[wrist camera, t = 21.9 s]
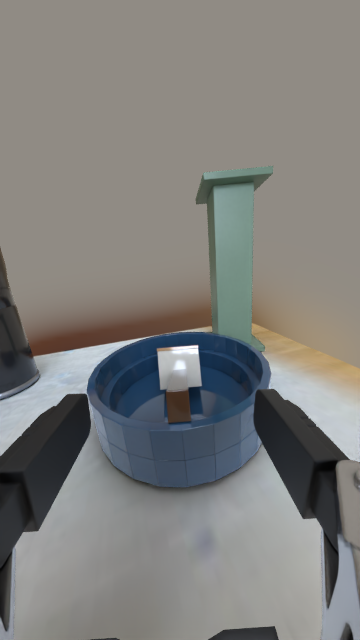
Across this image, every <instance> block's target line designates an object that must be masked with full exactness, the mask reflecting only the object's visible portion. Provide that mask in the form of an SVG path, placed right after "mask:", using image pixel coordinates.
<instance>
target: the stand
mask: <svg viewBox="0 0 360 640" xmlns="http://www.w3.org/2000/svg"><path fill="white" fill-rule="evenodd" d="M272 174H273V166H268V167H258V168H247V169H237V170H227V171H216V172H206V173H203V176H202V179H201V183H200V187H199V190H198V193H197V197H196V204H205V203H207V213H208V236H209V258H210V281H211V304H212V305H211V306H212V329H213V332H206V333H215V334H220V335H225V336H230V337H233V338H236V339H239V340H242V341H244V342H246V343H248V344H250V345H252V346H253V347H254V348H256V349H257V350H258V351H259V352H261V351H265V346H264V345H263V344H262V343H261V342H260V341H259V340H257V339H256V338H255V337H254V336H253V335H252V334H251V326H252V265H253V260H252V259H253V206H254V202H253V201H254V191H255V190H256V189H257V188H258V187H259V186H260V185H261V184H262V183H263V182H264V181H265V180H266V179H268V177H269V176H271V175H272Z"/></svg>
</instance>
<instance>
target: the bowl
mask: <svg viewBox="0 0 360 640" xmlns="http://www.w3.org/2000/svg"><path fill="white" fill-rule="evenodd" d="M189 344H197V345H198V352H199V362H200V372H201V383H202V386H198V387H188V390H189V401H190V412H191V421H188V422H176V423H168V415H167V402H166V390H167V389H163V390H160V378H159V365H158V352H157V349H158V348H160V347H166V346H177V345H189ZM270 388H271V371H270V367H269V363H268V361H267V360H266V359H265V357H264V356H263V355H262V353H261V352H259V351H258V350H257V349H256V348H254V347H253V346H252V345H250V344H248V343H246V342H244V341H242V340H239V339H236V338H233V337H230V336H225V335H220V334H215V333H205V332H179V333H171V334H163V335H159V336H154V337H150V338H146V339H143V340H139V341H137V342H134V343H132V344H129V345H127V346H125V347H123V348H121V349H119V350H117V351H115V352H114V353H112V354H111V355H109V356H108V357H107V358H105V359H104V360H103V361H102V362H101V363H100V364H99V365H98V366H97V367H96V368H95V369H94V371H93V373H92V374H91V376H90V378H89V380H88V386H87V394H88V398H89V402H90V406H91V410H92V414H93V417H94V421H95V425H96V429H97V433H98V436H99V440H100V443H101V447H102V450H103V452H104V453H105V454H106V456H107V457H108V458H109V460H110V461H111V462H112V463H113V465H114V466H115V467H116V468H118V469H119V470H121V471H122V472H124V473H125V474H127V475H128V476H130V477H131V478H133V479H136V480H139V481H143V482H146V483H149V484H152V485H156V486H159V487H191V486H195V485H199V484H204V483H208V482H212V481H216V480H218V479H220V478H222V477H224V476H226V475H228V474H230V473H232V472H233V471H235V470H237V469H239V468H241V467H242V466H243V465H244V464H245V463H246V462H247V461H248V460H249V459H250V458H251V457H252V456H253V455H254V454H255V453H256V452H257V451H258V449H259V447H260V445H261V443H262V442H261V440H260V438H259V436H258V434H257V432H256V430H255V427H254V422H253V414H254V403H255V394H256V391H257V390H258V389H270Z"/></svg>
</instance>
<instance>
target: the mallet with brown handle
mask: <svg viewBox="0 0 360 640" xmlns="http://www.w3.org/2000/svg"><path fill="white" fill-rule="evenodd" d="M157 352H158V365H159V378H160V390H163V389H167V390H166V402H167V415H168V423H176V422H188V421H191V412H190V401H189V390H188V387H198V386H202V383H201V372H200V362H199V352H198V345H197V344H189V345H177V346H166V347H160V348H158V349H157Z"/></svg>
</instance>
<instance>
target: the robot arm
mask: <svg viewBox="0 0 360 640" xmlns="http://www.w3.org/2000/svg"><path fill="white" fill-rule="evenodd" d="M8 287H10V286H9V283H8V279H7V273H6V266H5V262H4V259H3V256H2V252H1V248H0V399H3V398H6V397H9V396H11V395H14V394H16V393H18V392H20V391H22V390H24V389H26V388H27V387H29V386H30V385H32V384H33V383H34V382H36V381H37V379H38V378H39V376H40V374H39V371H38V369H37V367H36V364H35V361H34V358H33V355H32V352H31V349H30V346H29V343H28V340H27V337H26V334H25V331H24V328H23V325H22V322H21V319H20V316H19V313H18V310H17V307H16V305H15V301H14V298H13V295H12V292H11V289H10V288H8ZM253 422H254V427H255V430H256V432H257V434H258V436H259V438H260V440H261V442H262V443H263V445H264V447H265V449H266V451H267V453H268V455H269V456H270V458H271V460H272V462H273V464H274V466H275V468H276V470H277V471H278V473H279V475H280V477H281V479H282V481H283V483H284V484H285V486H286V488H287V490H288V492H289V494H290V496H291V497H292V499H293V501H294V503H295V505H296V507H297V509H298V510H299V512H300V514H301V516H302V518H303V519H311V518H317V520H318V522H319V523H320V525H321V527H322V530H321V568H322V632H321V640H360V462H357V461H353V460H350V459H349V458H348V457H347V456H346V455H345V454H344V453H343V452H342V451H341V450H340V449H339V448H338V447H337V446H336V445H335V444H334V443H333V442H332V441H331V440H330V439H329V438H328V437H327V436H326V435H325V434H324V433H323V432H322V430H321V429H320V428H319V427H316V424H315V423H314V422H313V421H312V420H311V419H309V418H308V416H307V415H306V414H305V413H304V412H303V411H302V410H301V409H300V408H299V407H298V406H296V405H295V404H293V403H291V402H290V401H288V400H284V399H283V398H282V397H281V396H280V395H279V393H278V392H277V391H276V390H274V389H258V390H257V391H256V394H255V403H254V414H253ZM90 428H91V419H90V412H89V404H88V397H87V395H86V394H67V395H66V396H65V397H64V398H63V399H62V400H61V401H60V403H59V404H58V405H57V406H53V407H51V408H50V409H48V410H47V411H45V412H44V413H42V414H41V415H40V416H39V417H38V418H37V419H36V420H35V421H34V422H33V423H32V424H31V426H30V427H28V428H27V429H26V430H25V431H24V432H23V433H22V436H20V437H19V438H18V439H17V440H16V441H15V442H14V443H13V444H12V445H11V446H10V447H9V448H8V449H7V450H6V451H5V452H4V453H3V454H2V455H1V456H0V640H14V608H15V567H16V549H15V545H16V543H17V541H18V540H19V538H20V536H21V534H22V533H23V532H32V531H38V530H39V529H40V527H41V525H42V523H43V521H44V519H45V517H46V515H47V513H48V512H49V510H50V508H51V506H52V504H53V502H54V500H55V498H56V496H57V495H58V493H59V491H60V489H61V487H62V485H63V483H64V481H65V479H66V478H67V476H68V474H69V472H70V470H71V468H72V466H73V464H74V462H75V461H76V459H77V457H78V455H79V453H80V451H81V449H82V447H83V445H84V444H85V442H86V440H87V438H88V436H89V433H90ZM92 640H119V639H117V638H106V639H92ZM208 640H279V639H278V636H277V632H276V629H275V626H272V627H258V628H244V629H230V630H223V631H221V632H220V633H218V634H217V635H215V636H213V637H212V638H210V639H208Z"/></svg>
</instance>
